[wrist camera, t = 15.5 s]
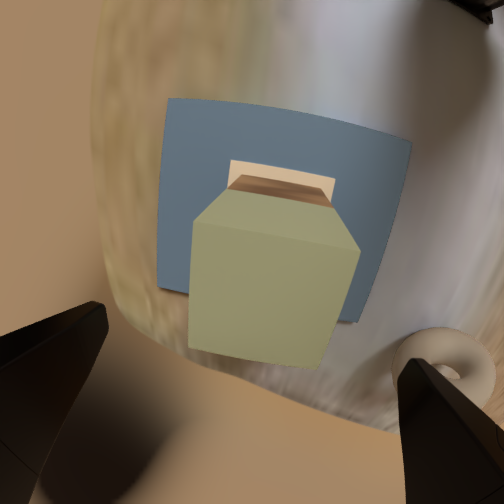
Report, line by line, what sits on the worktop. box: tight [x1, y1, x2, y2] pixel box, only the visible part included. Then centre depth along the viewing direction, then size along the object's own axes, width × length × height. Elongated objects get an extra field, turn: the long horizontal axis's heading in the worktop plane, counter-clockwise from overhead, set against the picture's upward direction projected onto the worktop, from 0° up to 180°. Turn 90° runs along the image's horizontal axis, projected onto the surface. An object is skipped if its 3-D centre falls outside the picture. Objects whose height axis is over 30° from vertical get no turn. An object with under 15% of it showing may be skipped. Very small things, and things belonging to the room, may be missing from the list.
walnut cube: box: [227, 174, 334, 208], centre depth 16 cm, size 5×5×5 cm
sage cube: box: [188, 189, 361, 370], centre depth 11 cm, size 5×5×5 cm
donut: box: [391, 327, 496, 409], centre depth 17 cm, size 10×3×10 cm, turn 92°
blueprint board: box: [157, 98, 412, 323], centre depth 19 cm, size 16×14×1 cm
